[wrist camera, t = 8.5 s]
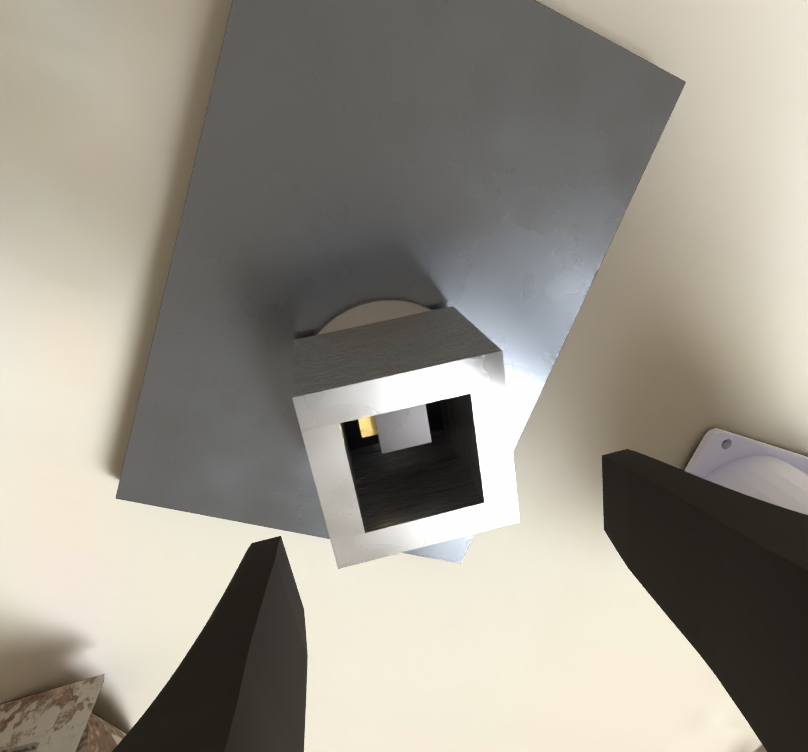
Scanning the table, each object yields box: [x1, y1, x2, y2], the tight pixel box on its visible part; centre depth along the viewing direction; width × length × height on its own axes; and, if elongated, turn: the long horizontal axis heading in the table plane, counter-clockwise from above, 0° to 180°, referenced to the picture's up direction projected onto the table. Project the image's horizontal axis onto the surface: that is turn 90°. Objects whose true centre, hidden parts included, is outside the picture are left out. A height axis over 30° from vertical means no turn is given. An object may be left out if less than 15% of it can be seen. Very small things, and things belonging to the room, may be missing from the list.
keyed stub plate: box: [116, 0, 686, 564], centre depth 18 cm, size 14×20×4 cm
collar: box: [292, 306, 520, 569], centre depth 17 cm, size 6×6×5 cm
